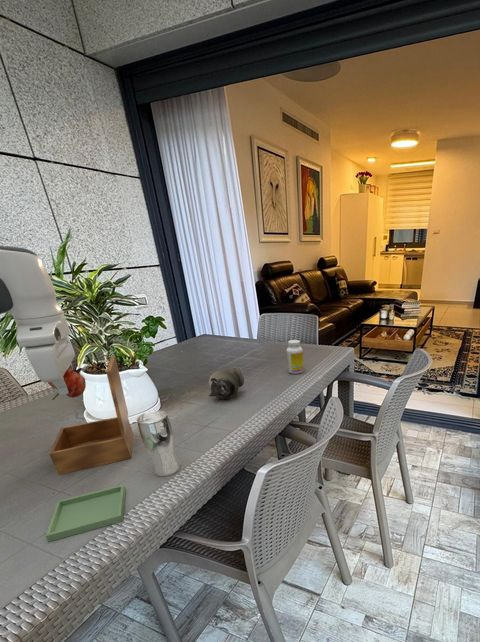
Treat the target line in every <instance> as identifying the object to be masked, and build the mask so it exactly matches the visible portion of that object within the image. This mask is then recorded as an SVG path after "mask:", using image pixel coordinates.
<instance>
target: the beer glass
mask: <svg viewBox="0 0 480 642" xmlns="http://www.w3.org/2000/svg"><path fill="white" fill-rule="evenodd" d="M136 422H137V427H138V432H139V435H140V438H141V441H142V443H143V445H144V447H145V449H146V450H147V452H148V454H149V456H150V458H151V459H152V463H153V470H154V475H156V476H158V477H168V476H172V475H174V474H176V473H177V472H179V470H180V469H181V464H180V461H179V460H178V458H177V455H176V451H175V437H174V436H175V435H174V431H173V427H172V424H171V421H170V418H169V416H168V413H167V412H166V411H165V410H158V409H157V410H151V411H147V412H144V413H142V414H140V415H138V417H137V418H136Z"/></svg>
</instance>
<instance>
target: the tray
mask: <svg viewBox="0 0 480 642" xmlns="http://www.w3.org/2000/svg"><path fill="white" fill-rule="evenodd" d="M126 490H127V488H126V487H125V484H120V485H117V486H112V487H108V488H104V489H100V490H96V491H93V492H88V493H85V494H80V495H76V496H72V497H69V498H64V499H59V500H57V501H56V503H55V507H54V510H53V512H52V515H51V519H50V521H49V524H48V527H47V530H46V532H45V538H46V540H47V542H48V543H50V542H54V541H57V540H61V539H64V538H68V537H72V536H75V535H79V534H82V533H86V532H89V531H93V530H97V529H99V528H100V529H101V528H104V527H107V526H110V525H115V524H117V523H122V522H124V513H125V502H126V492H127V491H126Z"/></svg>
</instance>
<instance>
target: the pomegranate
mask: <svg viewBox="0 0 480 642" xmlns="http://www.w3.org/2000/svg"><path fill="white" fill-rule="evenodd" d="M83 370H84V368H83V367H79V368H77V369H73V370H72V369H67V371H66V372H65V374H64V376H63V377H64V382H65V384H66V385H67V386H68V388H69V393H68V394H66V395H65V396H67V397H69V398H74V399H75V398H78V397H79V396H81V395H82V394H83V393H84V392H85V390H86V386H87V384H86V378H85V377H84V376H83V375H82V374H81V371H83ZM47 384H48V385H49V386H50V387H52V388H53V389H55V390H56V391H57V392H58V390H57V388H56V387H55V386H54V385H53V383H52V382H47ZM59 395H60V394H59V392H58V393H56V394H55V396H54V397H53V398H52V401H54V400H55V399H56V398H57V397H58V396H59Z"/></svg>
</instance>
